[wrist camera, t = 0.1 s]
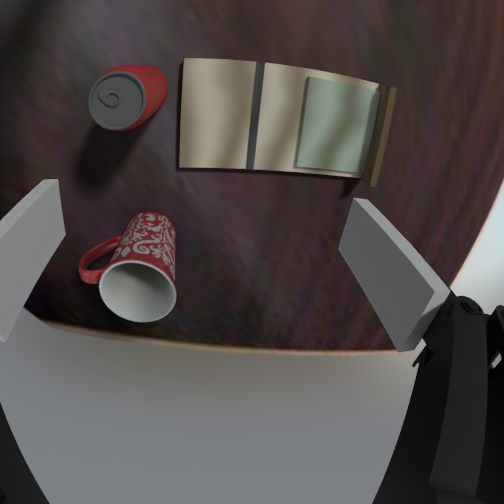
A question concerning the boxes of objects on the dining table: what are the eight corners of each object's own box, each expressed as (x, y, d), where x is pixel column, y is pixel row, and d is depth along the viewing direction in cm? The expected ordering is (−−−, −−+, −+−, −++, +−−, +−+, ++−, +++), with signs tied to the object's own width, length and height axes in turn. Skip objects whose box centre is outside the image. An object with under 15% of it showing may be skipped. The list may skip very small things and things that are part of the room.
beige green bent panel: (180, 164, 39) (177, 175, 36) (184, 58, 31) (182, 57, 28) (363, 176, 43) (375, 187, 40) (381, 85, 36) (396, 88, 32)
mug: (186, 209, 43) (180, 267, 32) (178, 262, 47) (172, 327, 36) (100, 197, 40) (65, 250, 29) (99, 251, 44) (74, 312, 33)
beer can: (132, 57, 30) (101, 54, 20) (178, 78, 33) (165, 82, 23) (109, 103, 33) (72, 120, 23) (153, 123, 35) (132, 147, 26)
